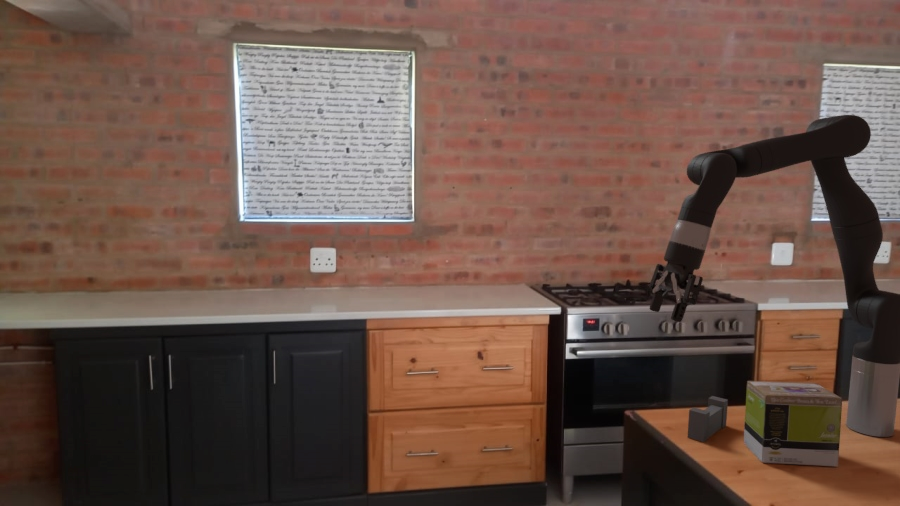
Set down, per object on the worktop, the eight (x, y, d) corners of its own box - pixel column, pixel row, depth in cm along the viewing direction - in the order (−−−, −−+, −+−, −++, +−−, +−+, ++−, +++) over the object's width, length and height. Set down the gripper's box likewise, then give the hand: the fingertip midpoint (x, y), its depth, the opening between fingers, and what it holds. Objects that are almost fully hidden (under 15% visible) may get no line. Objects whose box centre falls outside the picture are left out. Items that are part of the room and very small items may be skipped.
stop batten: (710, 421, 142) (712, 395, 142) (726, 425, 140) (727, 399, 139) (687, 437, 133) (689, 409, 132) (703, 442, 130) (705, 414, 130)
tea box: (813, 447, 129) (819, 382, 127) (838, 468, 119) (845, 398, 117) (741, 443, 130) (746, 378, 129) (760, 464, 120) (766, 393, 119)
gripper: (723, 253, 120) (698, 328, 122) (682, 244, 134) (661, 311, 136) (692, 244, 119) (667, 320, 120) (654, 235, 132) (632, 304, 134)
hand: (664, 315), depth 128 cm, fingers open, 8 cm apart
